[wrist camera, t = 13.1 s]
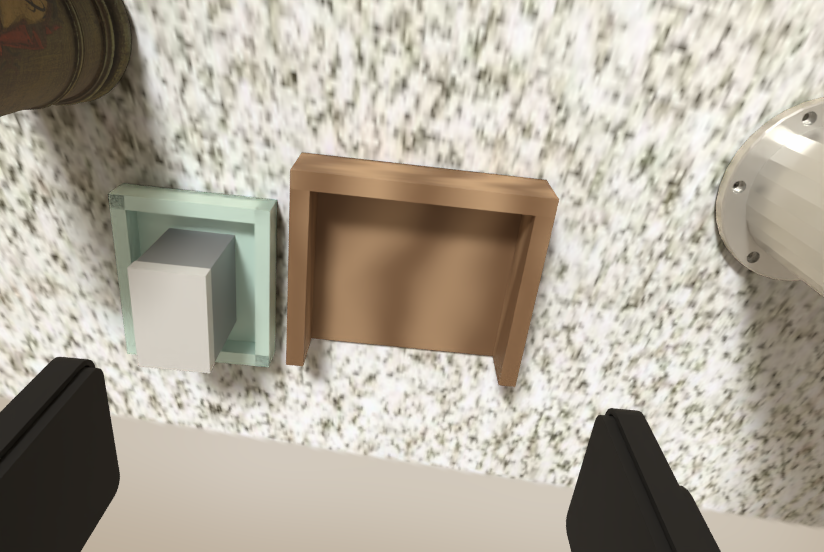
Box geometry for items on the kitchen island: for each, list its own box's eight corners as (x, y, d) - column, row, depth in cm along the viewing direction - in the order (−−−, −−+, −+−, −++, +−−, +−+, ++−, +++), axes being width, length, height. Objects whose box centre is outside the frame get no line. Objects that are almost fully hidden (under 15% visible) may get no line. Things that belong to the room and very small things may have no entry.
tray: (277, 199, 41) (270, 211, 39) (275, 350, 46) (269, 367, 44) (123, 183, 40) (107, 193, 38) (139, 337, 46) (127, 353, 44)
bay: (546, 179, 40) (559, 199, 36) (507, 355, 46) (515, 386, 43) (301, 152, 39) (290, 169, 36) (296, 334, 45) (286, 364, 42)
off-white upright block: (235, 234, 41) (205, 276, 35) (237, 321, 44) (209, 373, 38) (168, 227, 41) (127, 267, 35) (174, 315, 44) (138, 366, 38)
